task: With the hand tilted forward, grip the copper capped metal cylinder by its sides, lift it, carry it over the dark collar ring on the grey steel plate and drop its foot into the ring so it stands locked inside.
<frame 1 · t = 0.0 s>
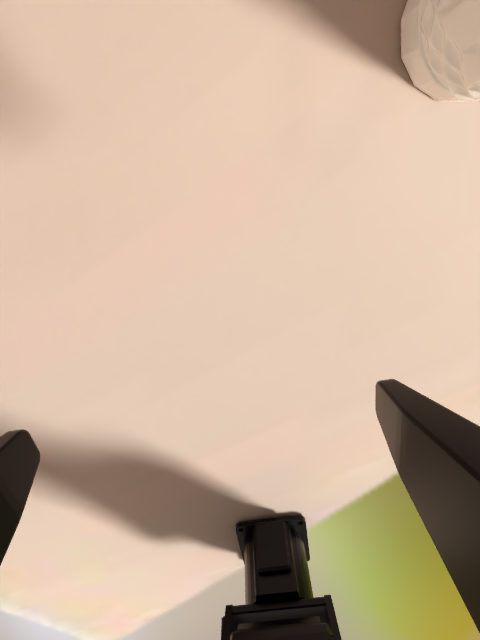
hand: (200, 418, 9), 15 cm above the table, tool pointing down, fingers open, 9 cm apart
white cup: (465, 24, 17), on the table
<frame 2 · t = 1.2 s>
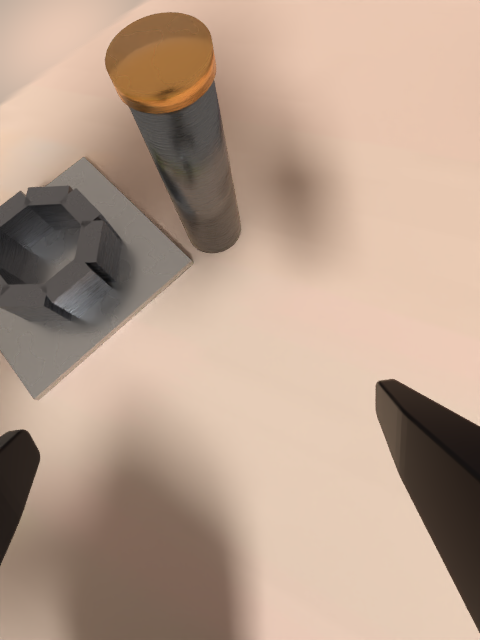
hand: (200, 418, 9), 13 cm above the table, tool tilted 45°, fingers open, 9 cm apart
rosette collar: (65, 266, 27), on the table
copper capped metal cylinder: (214, 229, 26), on the table
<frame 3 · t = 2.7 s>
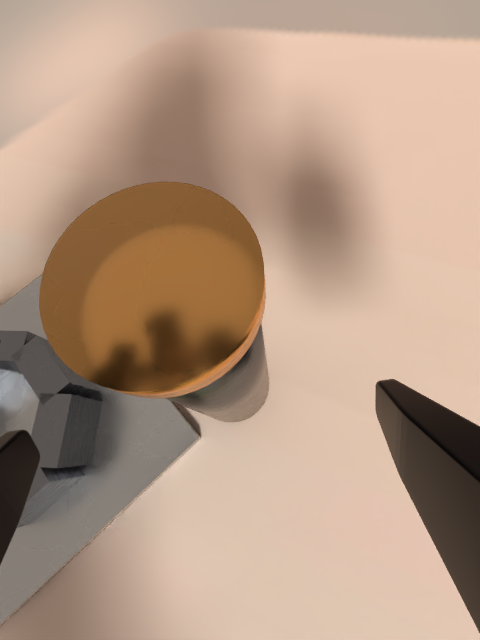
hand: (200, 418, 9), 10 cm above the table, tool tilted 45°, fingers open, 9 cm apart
rosette collar: (23, 428, 19), on the table
copper capped metal cylinder: (231, 383, 19), on the table
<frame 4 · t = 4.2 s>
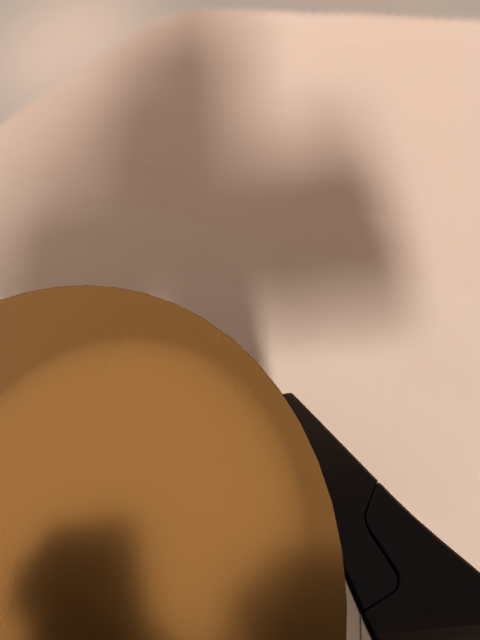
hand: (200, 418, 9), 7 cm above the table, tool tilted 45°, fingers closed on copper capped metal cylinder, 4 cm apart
copper capped metal cylinder: (235, 461, 15), on the table, touching gripper
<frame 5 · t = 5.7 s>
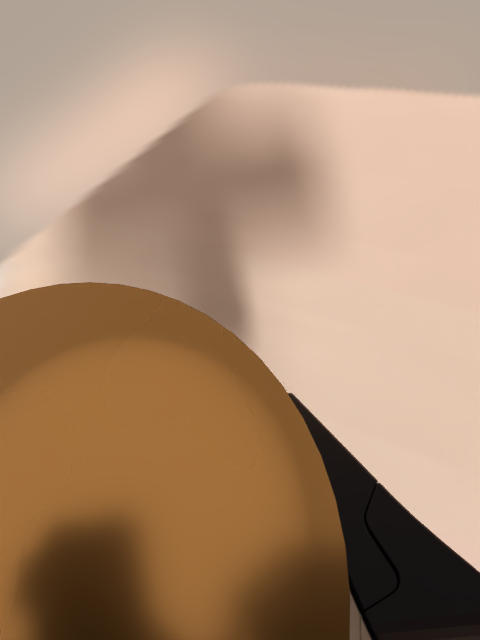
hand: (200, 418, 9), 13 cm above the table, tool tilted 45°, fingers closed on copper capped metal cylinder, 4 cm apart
copper capped metal cylinder: (236, 461, 15), point 7 cm above the table, touching gripper
when the fingers open (9 cm above the table, at t = 7.6 s): copper capped metal cylinder drops 2 cm, resting on rosette collar.
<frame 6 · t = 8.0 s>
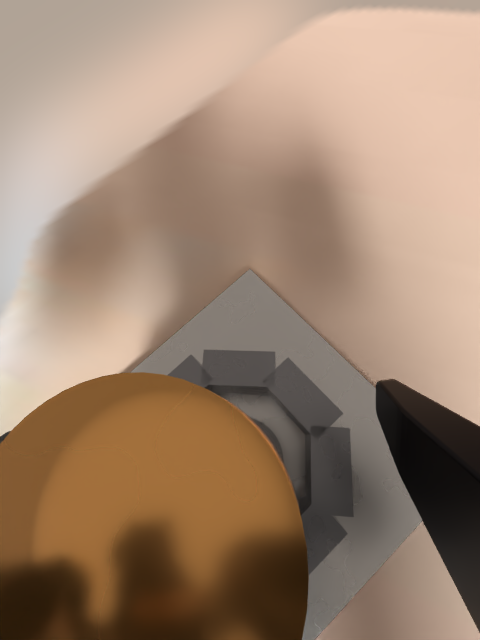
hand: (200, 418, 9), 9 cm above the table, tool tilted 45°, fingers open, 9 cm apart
rosette collar: (241, 458, 17), on the table
copper capped metal cylinder: (240, 460, 17), point 1 cm above the table, touching rosette collar
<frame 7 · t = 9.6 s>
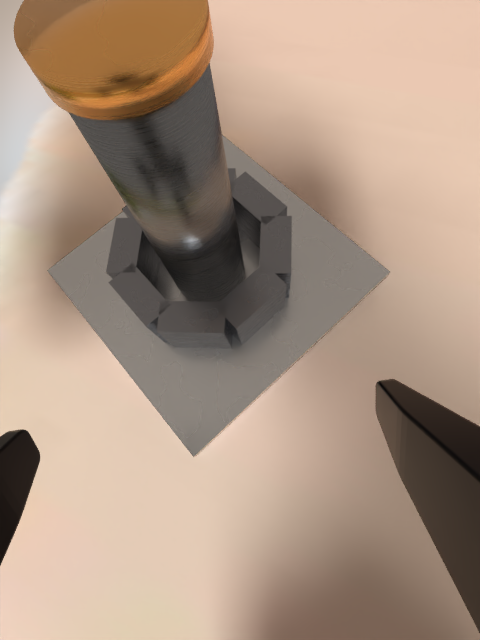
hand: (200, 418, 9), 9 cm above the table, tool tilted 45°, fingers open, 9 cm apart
rosette collar: (211, 275, 21), on the table
copper capped metal cylinder: (209, 271, 20), point 1 cm above the table, touching rosette collar
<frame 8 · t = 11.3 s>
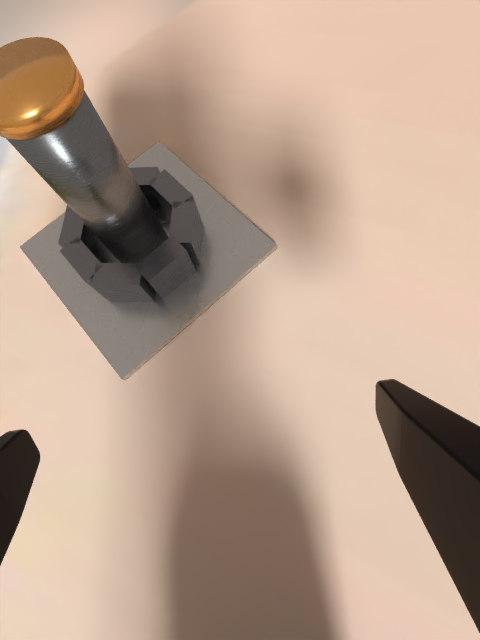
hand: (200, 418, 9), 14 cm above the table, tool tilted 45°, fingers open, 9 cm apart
rosette collar: (145, 249, 27), on the table
copper capped metal cylinder: (142, 246, 26), point 1 cm above the table, touching rosette collar
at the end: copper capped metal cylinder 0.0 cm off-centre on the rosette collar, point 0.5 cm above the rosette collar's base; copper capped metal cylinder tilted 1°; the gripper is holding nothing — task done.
